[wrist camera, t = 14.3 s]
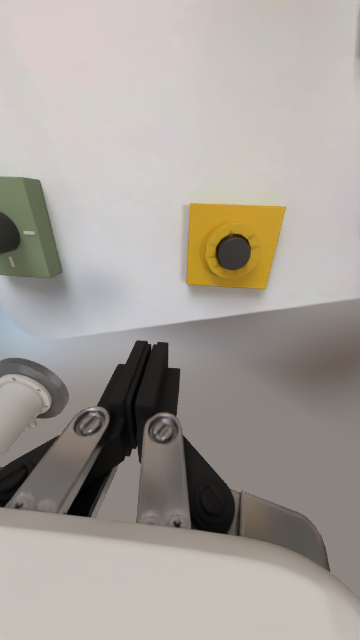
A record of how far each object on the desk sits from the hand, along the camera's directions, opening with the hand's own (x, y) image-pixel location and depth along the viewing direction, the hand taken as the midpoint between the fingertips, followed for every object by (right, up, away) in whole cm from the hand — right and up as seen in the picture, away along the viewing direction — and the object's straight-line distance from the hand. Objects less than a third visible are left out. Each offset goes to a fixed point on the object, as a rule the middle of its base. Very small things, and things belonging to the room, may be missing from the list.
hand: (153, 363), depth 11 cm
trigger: (+8, +11, +14) cm, 19 cm away
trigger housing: (+8, +12, +17) cm, 23 cm away
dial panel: (-22, +15, +18) cm, 32 cm away
